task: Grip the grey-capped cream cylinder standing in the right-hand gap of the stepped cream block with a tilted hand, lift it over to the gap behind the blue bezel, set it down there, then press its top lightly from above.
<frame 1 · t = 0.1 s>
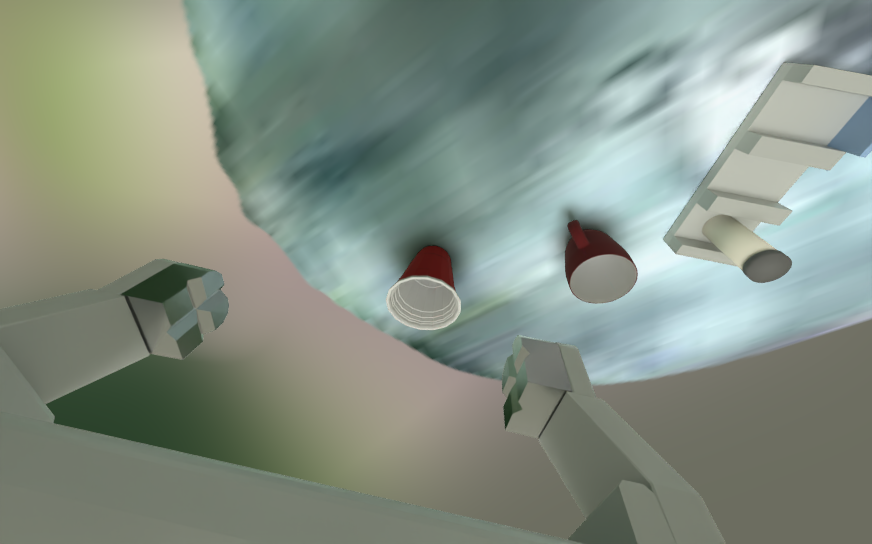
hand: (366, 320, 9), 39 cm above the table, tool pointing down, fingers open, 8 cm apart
mug: (579, 234, 48), on the table
plastic cup: (435, 259, 55), on the table
grey-capped cream cylinder: (717, 226, 43), point 1 cm above the table, touching stepped cream block
stepped cream block: (749, 172, 40), on the table
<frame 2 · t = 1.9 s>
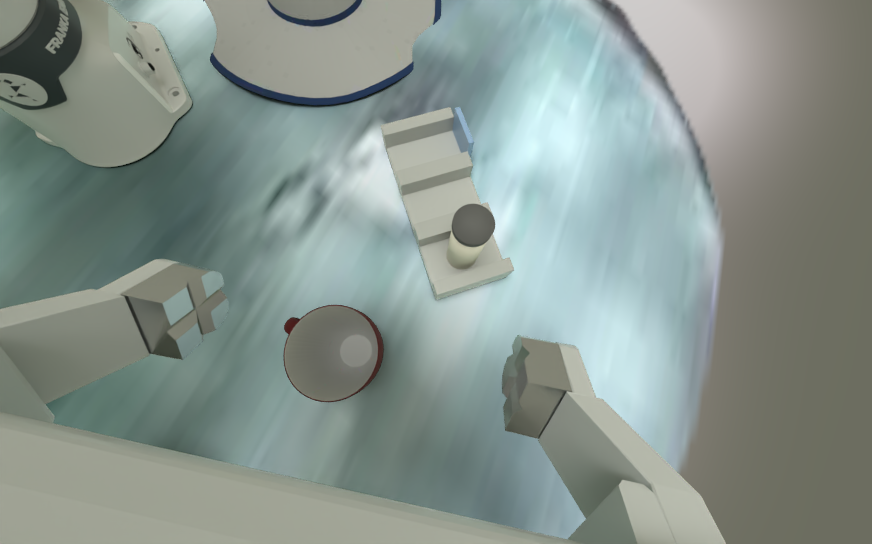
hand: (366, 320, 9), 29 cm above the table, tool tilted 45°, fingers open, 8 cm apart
mug: (347, 347, 37), on the table
grey-capped cream cylinder: (461, 255, 38), point 1 cm above the table, touching stepped cream block
sun hat: (322, 10, 49), on the table
stepped cream block: (442, 208, 41), on the table
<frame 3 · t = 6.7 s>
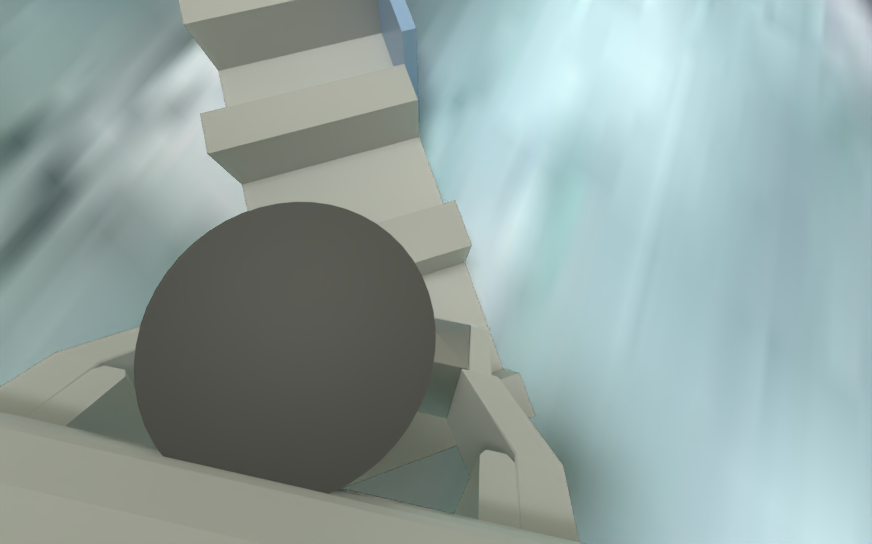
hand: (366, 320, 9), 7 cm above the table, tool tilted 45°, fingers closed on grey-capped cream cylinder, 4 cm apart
grey-capped cream cylinder: (386, 345, 14), point 1 cm above the table, touching stepped cream block, gripper
stepped cream block: (352, 216, 17), on the table
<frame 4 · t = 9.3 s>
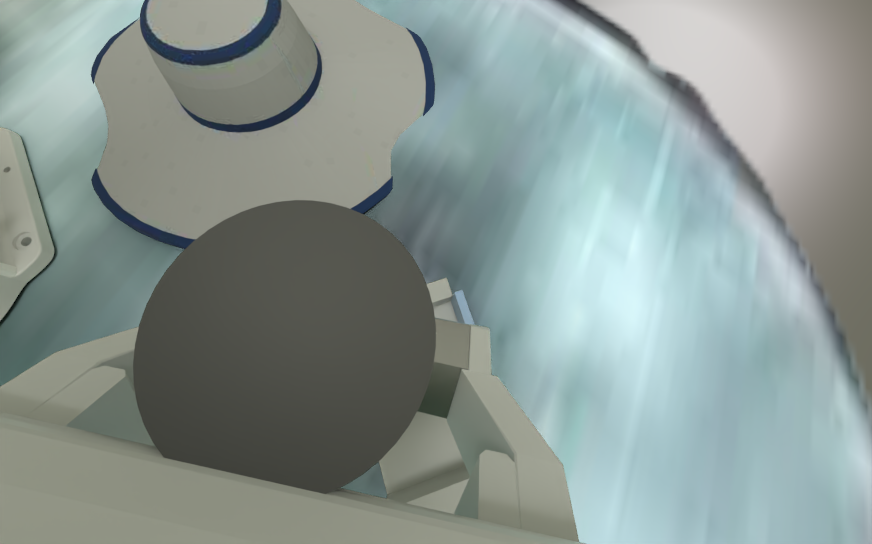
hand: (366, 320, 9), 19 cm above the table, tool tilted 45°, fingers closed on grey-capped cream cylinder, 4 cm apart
grey-capped cream cylinder: (386, 345, 14), point 14 cm above the table, touching gripper
sun hat: (264, 95, 34), on the table
stepped cream block: (435, 432, 26), on the table
when the fingers open (8 cm above the table, at t = 11.8 s): grey-capped cream cylinder drops 1 cm, resting on stepped cream block.
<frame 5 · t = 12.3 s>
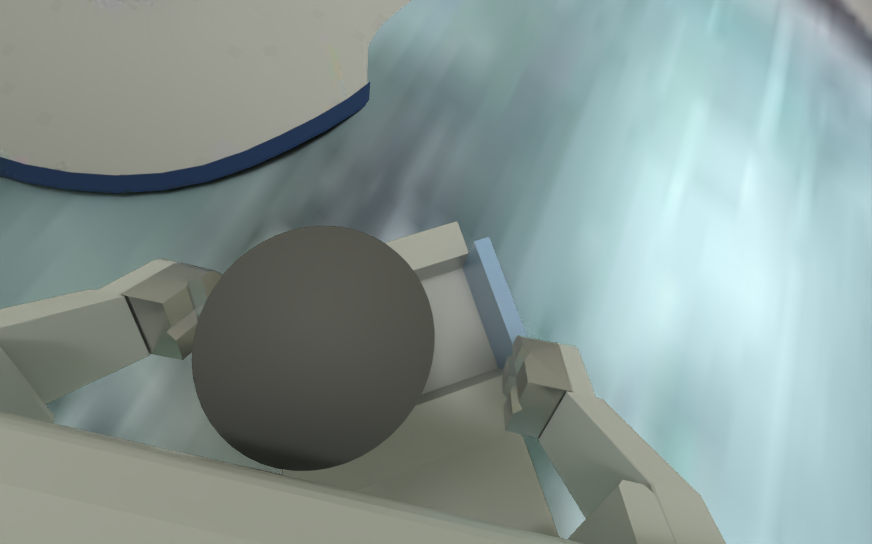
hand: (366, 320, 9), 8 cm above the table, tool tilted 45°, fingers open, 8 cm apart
grey-capped cream cylinder: (388, 345, 15), point 2 cm above the table, touching stepped cream block
stepped cream block: (435, 494, 15), on the table
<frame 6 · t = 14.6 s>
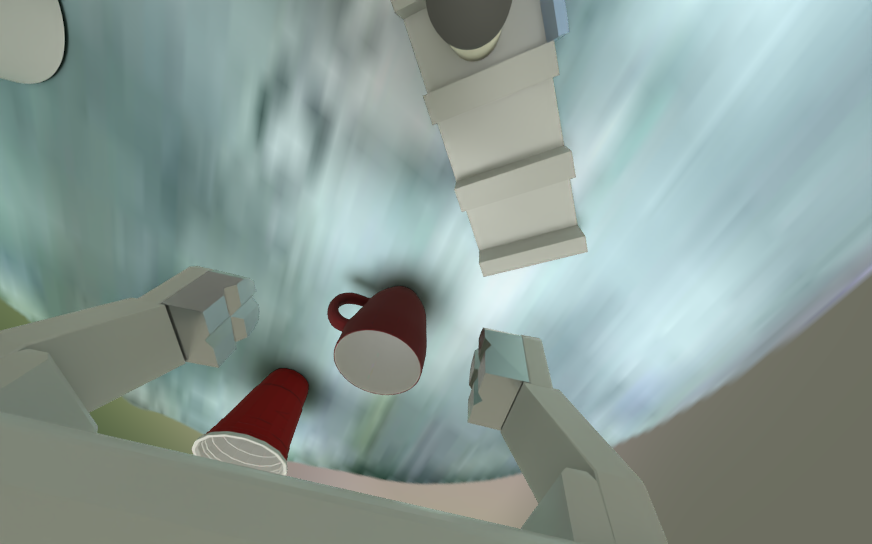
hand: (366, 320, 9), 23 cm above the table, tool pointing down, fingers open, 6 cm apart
mug: (392, 296, 37), on the table
plastic cup: (292, 381, 47), on the table
grey-capped cream cylinder: (474, 31, 22), point 2 cm above the table, touching stepped cream block
stepped cream block: (499, 131, 27), on the table
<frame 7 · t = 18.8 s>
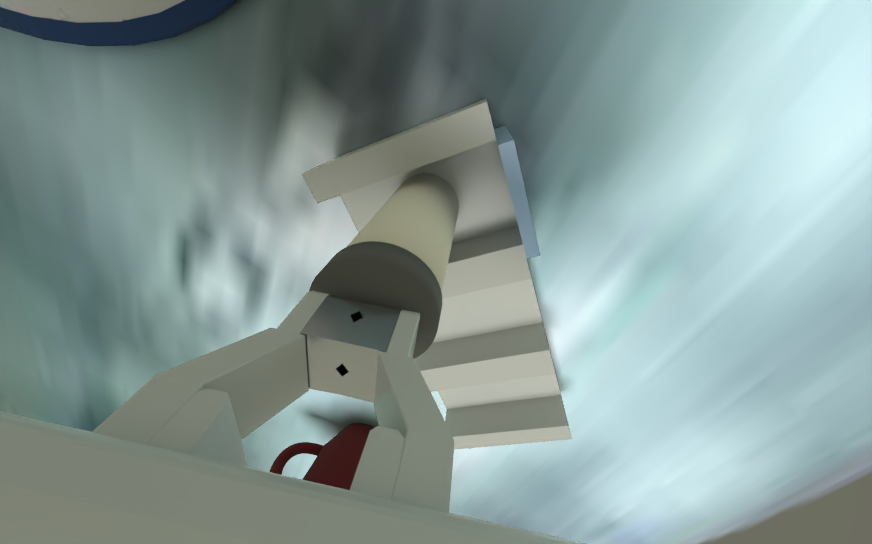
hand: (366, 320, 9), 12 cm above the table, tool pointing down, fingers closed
mug: (352, 430, 32), on the table
grey-capped cream cylinder: (426, 206, 18), point 2 cm above the table, touching stepped cream block
stepped cream block: (465, 293, 22), on the table
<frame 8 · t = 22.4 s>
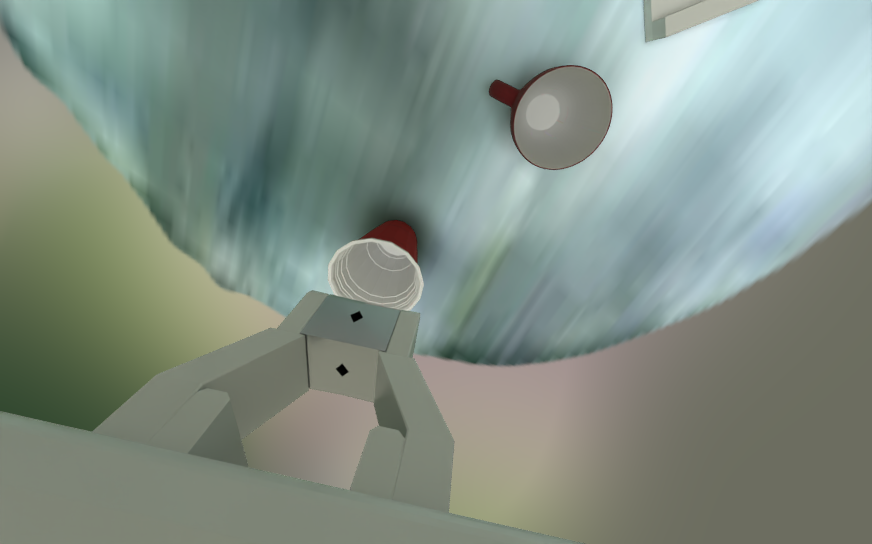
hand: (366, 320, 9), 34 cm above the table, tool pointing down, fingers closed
mug: (531, 108, 36), on the table
plastic cup: (398, 238, 46), on the table
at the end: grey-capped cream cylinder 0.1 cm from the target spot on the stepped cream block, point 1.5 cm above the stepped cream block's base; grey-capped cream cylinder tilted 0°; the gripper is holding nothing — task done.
